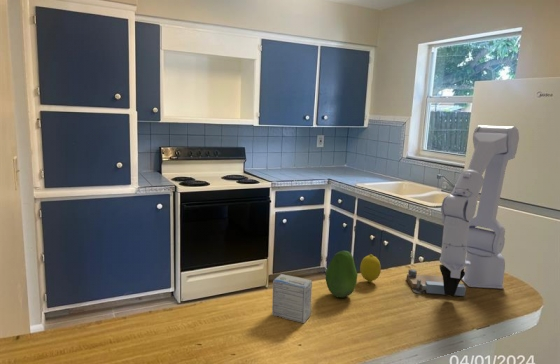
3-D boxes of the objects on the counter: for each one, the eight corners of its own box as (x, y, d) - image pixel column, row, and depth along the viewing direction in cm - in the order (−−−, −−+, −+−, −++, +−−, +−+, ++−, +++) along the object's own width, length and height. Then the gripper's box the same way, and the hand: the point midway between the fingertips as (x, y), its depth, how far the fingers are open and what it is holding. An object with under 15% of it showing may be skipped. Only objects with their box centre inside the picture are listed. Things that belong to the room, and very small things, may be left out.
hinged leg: (422, 292, 105) (423, 283, 105) (420, 289, 107) (421, 280, 107) (464, 296, 104) (465, 287, 104) (462, 292, 106) (463, 283, 106)
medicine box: (311, 315, 92) (312, 279, 90) (303, 324, 88) (305, 287, 86) (279, 308, 95) (280, 273, 94) (271, 316, 91) (272, 279, 90)
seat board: (449, 281, 114) (450, 271, 113) (458, 291, 107) (459, 280, 107) (406, 279, 115) (407, 269, 114) (412, 289, 108) (413, 278, 108)
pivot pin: (421, 289, 108) (422, 278, 107) (424, 294, 105) (425, 282, 105) (411, 289, 108) (412, 277, 107) (413, 293, 105) (415, 282, 105)
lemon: (378, 278, 114) (380, 251, 113) (380, 286, 109) (383, 258, 108) (358, 277, 115) (360, 250, 114) (360, 285, 109) (362, 257, 108)
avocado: (360, 294, 104) (363, 249, 102) (348, 305, 97) (351, 258, 95) (332, 286, 108) (334, 243, 106) (318, 297, 101) (321, 251, 99)
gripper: (477, 254, 92) (470, 310, 94) (468, 237, 105) (462, 286, 107) (443, 250, 94) (438, 305, 96) (439, 234, 107) (434, 282, 109)
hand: (449, 294), depth 102 cm, fingers closed
